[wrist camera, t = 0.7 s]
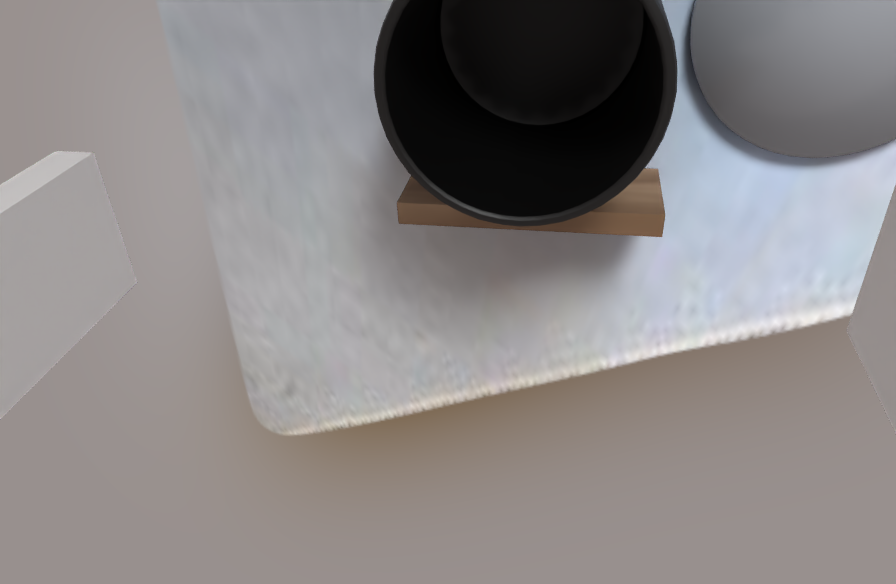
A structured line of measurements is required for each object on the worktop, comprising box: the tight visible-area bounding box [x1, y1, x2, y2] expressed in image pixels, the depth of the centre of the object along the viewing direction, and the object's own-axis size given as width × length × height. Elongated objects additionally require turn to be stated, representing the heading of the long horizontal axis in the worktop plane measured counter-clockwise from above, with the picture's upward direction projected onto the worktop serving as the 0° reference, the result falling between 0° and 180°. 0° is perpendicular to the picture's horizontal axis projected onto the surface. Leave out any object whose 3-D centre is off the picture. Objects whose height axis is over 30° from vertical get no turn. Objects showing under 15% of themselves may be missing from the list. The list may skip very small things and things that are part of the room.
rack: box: [397, 168, 665, 237], centre depth 27 cm, size 17×11×4 cm, turn 2°
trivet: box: [690, 0, 896, 158], centre depth 27 cm, size 11×11×1 cm
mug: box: [374, 0, 677, 227], centre depth 25 cm, size 9×12×9 cm
